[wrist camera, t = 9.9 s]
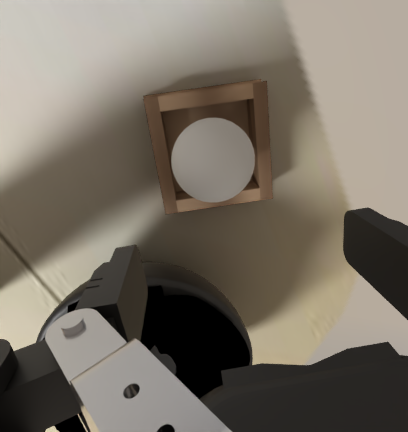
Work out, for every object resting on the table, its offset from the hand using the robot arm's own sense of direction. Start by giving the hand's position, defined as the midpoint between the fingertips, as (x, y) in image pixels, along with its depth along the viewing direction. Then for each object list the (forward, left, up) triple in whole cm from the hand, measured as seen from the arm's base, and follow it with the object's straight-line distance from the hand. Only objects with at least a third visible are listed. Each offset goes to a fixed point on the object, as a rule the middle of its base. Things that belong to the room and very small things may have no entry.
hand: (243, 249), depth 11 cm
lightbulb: (0, +1, -20) cm, 20 cm away
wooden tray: (+1, +1, -21) cm, 21 cm away
